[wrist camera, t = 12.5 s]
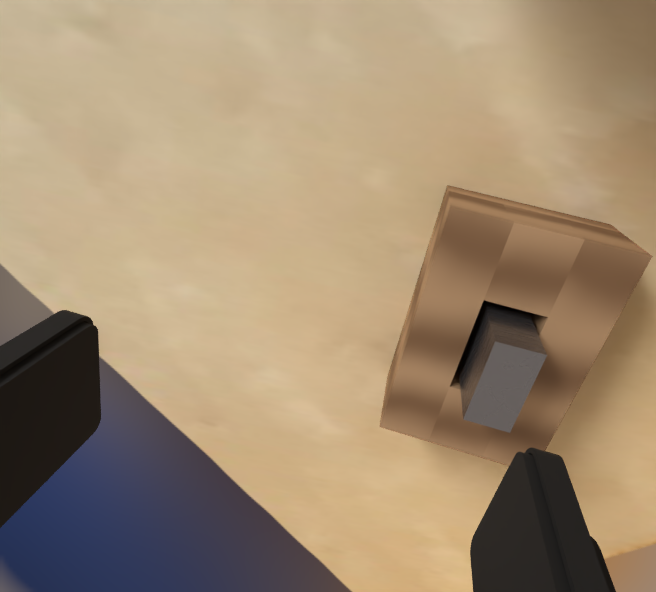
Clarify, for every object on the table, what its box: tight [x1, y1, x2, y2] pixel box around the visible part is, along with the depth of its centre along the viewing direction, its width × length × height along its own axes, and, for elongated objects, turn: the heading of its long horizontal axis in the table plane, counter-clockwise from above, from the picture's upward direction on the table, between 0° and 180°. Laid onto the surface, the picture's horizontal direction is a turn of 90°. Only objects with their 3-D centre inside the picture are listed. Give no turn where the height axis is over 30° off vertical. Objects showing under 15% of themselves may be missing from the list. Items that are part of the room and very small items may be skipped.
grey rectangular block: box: [458, 300, 547, 433], centre depth 32 cm, size 6×3×9 cm, turn 169°
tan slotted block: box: [380, 185, 652, 466], centre depth 35 cm, size 18×12×7 cm, turn 169°
